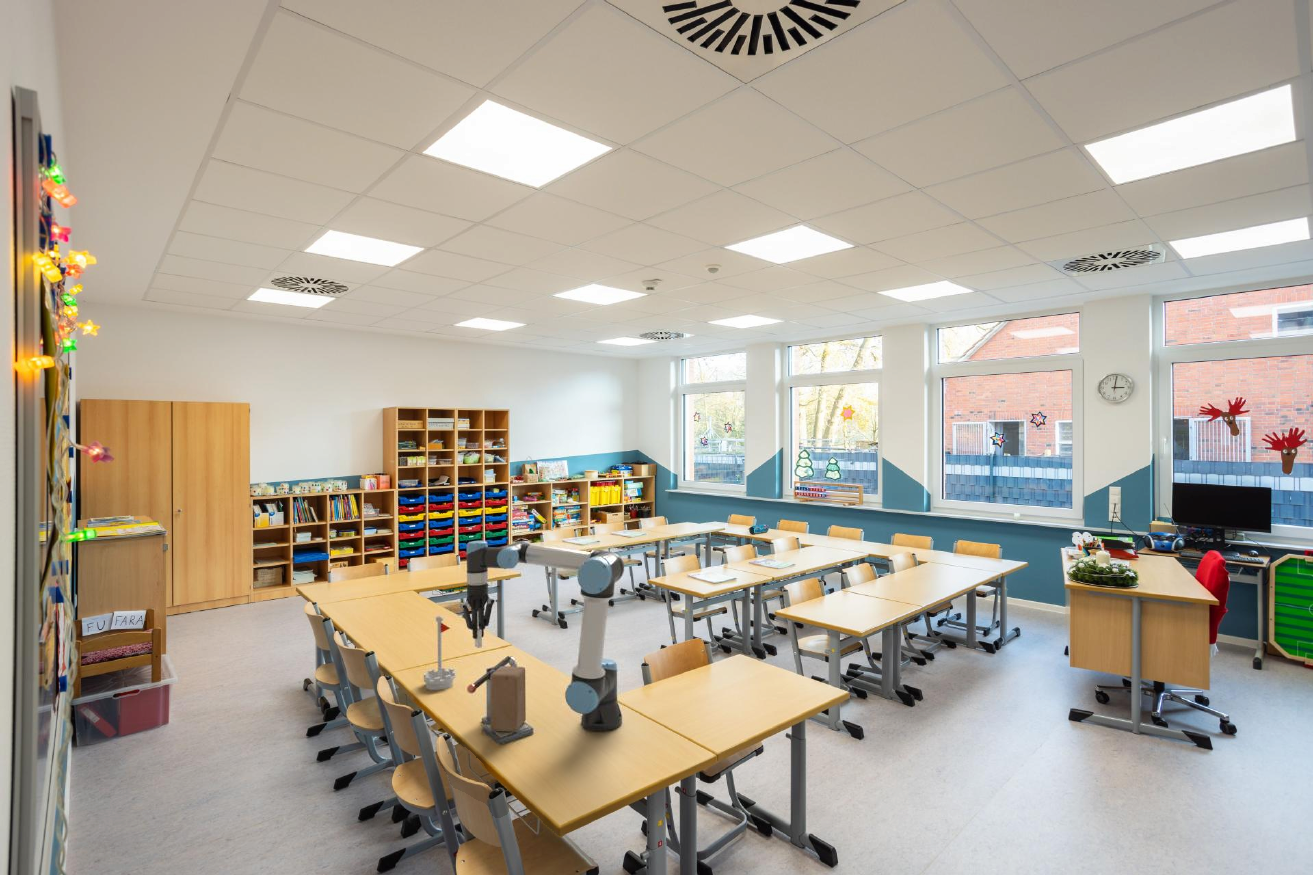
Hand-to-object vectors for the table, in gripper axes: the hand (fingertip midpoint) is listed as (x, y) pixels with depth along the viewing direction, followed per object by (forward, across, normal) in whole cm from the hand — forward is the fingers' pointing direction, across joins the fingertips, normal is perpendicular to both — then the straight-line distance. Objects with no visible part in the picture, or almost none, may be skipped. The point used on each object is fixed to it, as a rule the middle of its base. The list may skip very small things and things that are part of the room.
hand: (478, 646), depth 236 cm
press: (+29, -5, +9) cm, 31 cm away
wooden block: (+27, -5, +13) cm, 30 cm away
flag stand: (+29, -5, -48) cm, 56 cm away
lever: (+14, -6, +1) cm, 16 cm away
